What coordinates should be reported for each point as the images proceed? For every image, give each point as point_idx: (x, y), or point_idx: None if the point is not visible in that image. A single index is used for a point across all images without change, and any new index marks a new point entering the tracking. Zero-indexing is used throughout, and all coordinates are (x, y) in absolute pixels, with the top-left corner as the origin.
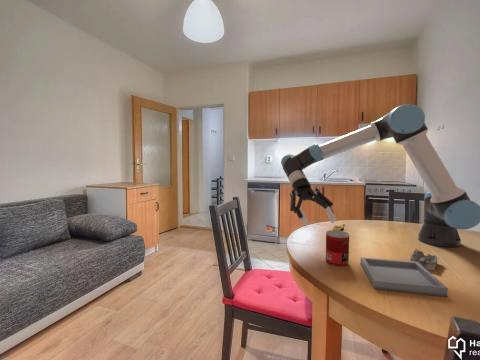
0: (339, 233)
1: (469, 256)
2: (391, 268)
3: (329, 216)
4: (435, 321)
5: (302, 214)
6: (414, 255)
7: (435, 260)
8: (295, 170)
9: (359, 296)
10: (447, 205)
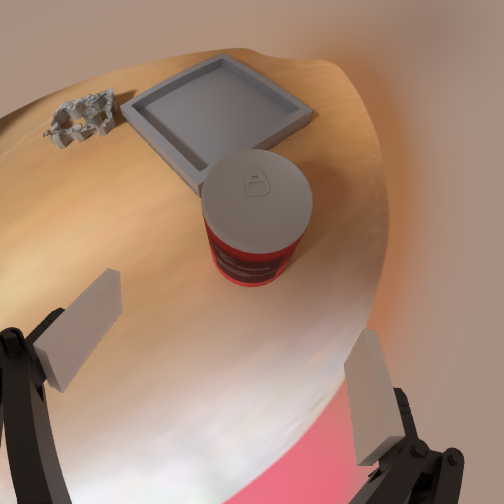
0: (239, 195)
1: (6, 119)
2: (179, 132)
3: (96, 333)
4: (313, 64)
5: (389, 393)
6: (73, 130)
7: (90, 96)
8: None
9: (359, 131)
10: None
